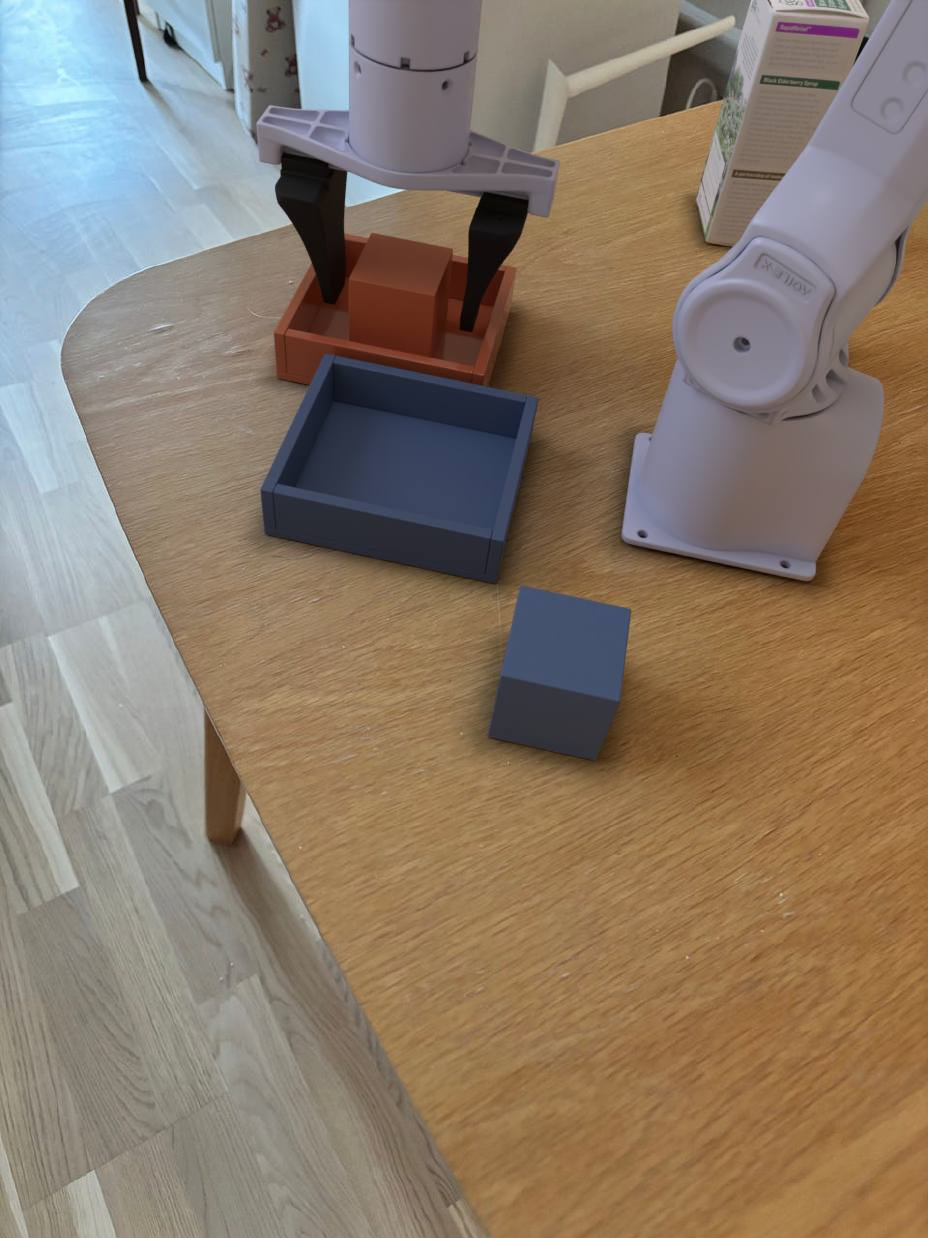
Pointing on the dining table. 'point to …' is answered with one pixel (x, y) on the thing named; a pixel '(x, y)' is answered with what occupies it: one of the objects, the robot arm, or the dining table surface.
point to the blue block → (561, 673)
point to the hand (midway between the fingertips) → (401, 307)
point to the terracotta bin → (326, 331)
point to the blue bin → (401, 468)
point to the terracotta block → (400, 295)
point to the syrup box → (774, 104)
